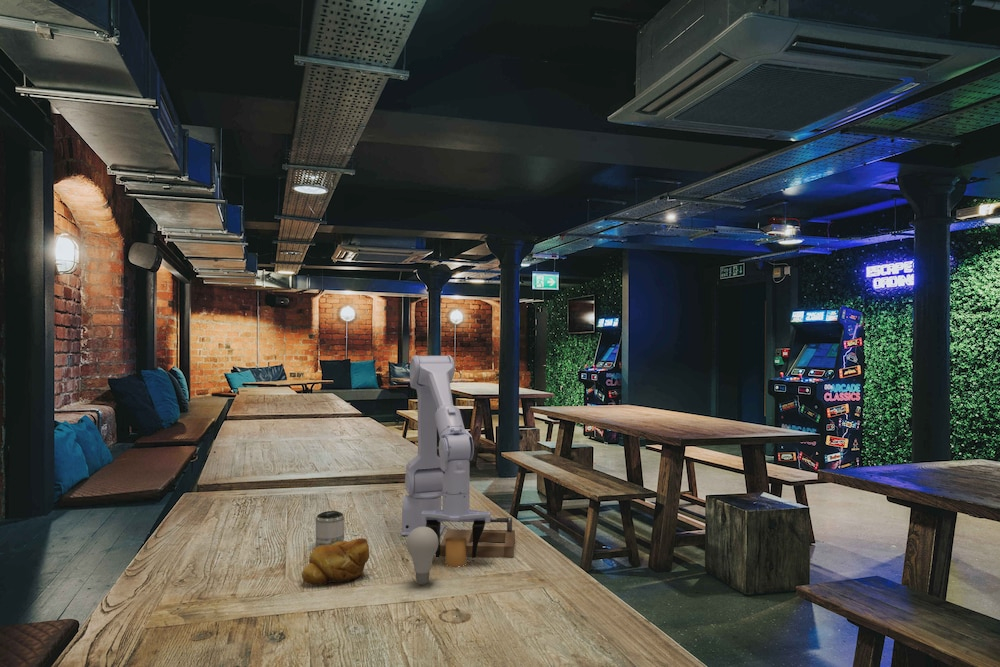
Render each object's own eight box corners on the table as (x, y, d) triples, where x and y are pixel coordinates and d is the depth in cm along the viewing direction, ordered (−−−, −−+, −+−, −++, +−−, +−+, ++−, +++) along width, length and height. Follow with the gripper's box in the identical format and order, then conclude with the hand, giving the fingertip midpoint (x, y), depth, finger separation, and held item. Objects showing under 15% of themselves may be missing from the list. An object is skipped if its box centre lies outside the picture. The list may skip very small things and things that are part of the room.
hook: (478, 542, 145) (478, 518, 145) (478, 540, 146) (478, 517, 146) (512, 542, 144) (512, 518, 144) (512, 540, 145) (512, 517, 145)
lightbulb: (443, 580, 121) (443, 524, 121) (430, 592, 115) (430, 533, 115) (415, 577, 123) (415, 521, 123) (400, 588, 117) (400, 529, 117)
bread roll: (306, 593, 115) (307, 550, 115) (294, 577, 123) (294, 536, 123) (373, 580, 121) (373, 538, 122) (357, 565, 130) (357, 526, 130)
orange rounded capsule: (444, 567, 128) (444, 542, 128) (447, 559, 133) (447, 536, 133) (465, 567, 128) (465, 543, 128) (467, 560, 132) (467, 536, 133)
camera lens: (349, 547, 141) (349, 512, 141) (325, 554, 136) (325, 518, 137) (334, 541, 145) (334, 507, 145) (310, 547, 141) (310, 513, 141)
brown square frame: (439, 556, 135) (439, 545, 135) (447, 539, 147) (447, 529, 147) (513, 557, 134) (513, 546, 134) (514, 540, 146) (514, 530, 146)
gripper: (418, 495, 127) (418, 562, 127) (488, 496, 126) (489, 563, 126) (424, 487, 134) (424, 550, 134) (491, 488, 133) (491, 551, 133)
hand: (456, 556), depth 130 cm, fingers open, 7 cm apart
